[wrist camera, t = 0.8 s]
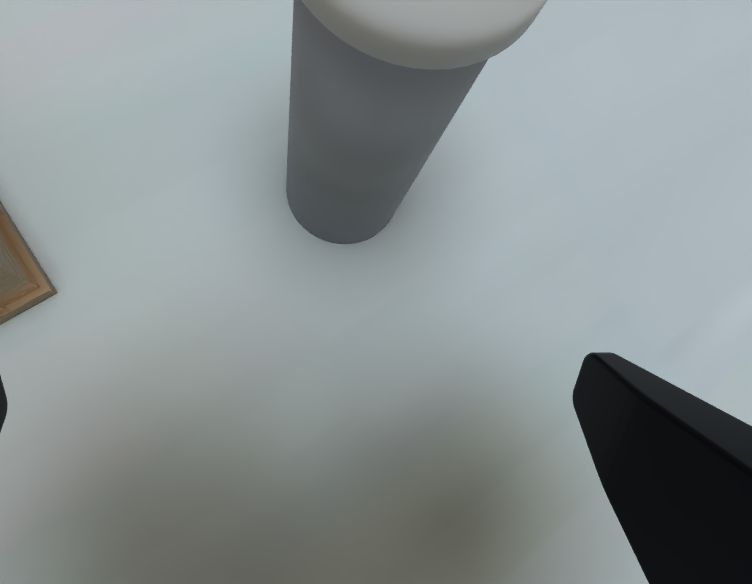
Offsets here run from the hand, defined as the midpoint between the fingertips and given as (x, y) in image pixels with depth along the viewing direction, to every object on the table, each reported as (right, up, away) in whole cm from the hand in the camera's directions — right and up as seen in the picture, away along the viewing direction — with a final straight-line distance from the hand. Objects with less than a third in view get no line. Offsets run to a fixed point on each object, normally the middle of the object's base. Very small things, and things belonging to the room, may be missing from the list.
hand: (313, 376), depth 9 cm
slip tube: (0, +5, +14) cm, 15 cm away
